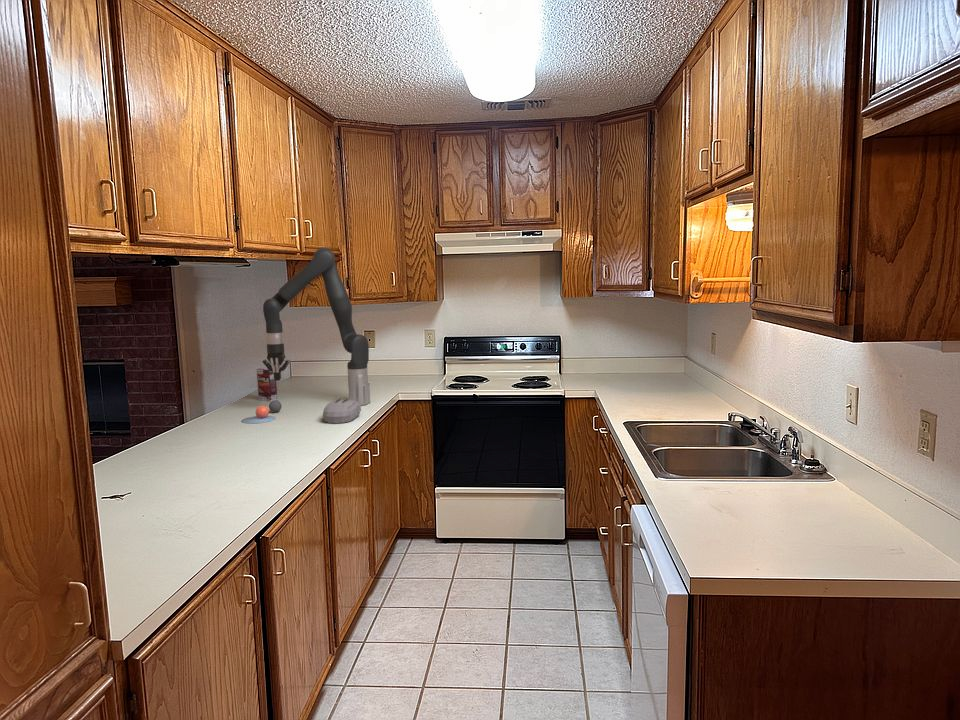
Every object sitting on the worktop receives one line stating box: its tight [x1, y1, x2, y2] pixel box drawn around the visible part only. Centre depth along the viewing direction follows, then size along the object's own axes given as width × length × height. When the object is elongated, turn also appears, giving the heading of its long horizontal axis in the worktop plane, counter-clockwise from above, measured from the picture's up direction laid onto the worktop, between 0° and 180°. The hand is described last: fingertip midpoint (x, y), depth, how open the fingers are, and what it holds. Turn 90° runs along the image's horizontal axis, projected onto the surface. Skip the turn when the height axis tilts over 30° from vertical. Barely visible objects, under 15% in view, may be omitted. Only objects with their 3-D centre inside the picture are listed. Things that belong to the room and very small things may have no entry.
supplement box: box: [256, 367, 278, 403], centre depth 322 cm, size 9×5×16 cm, turn 62°
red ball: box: [255, 405, 270, 418], centre depth 281 cm, size 6×6×6 cm
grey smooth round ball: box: [268, 399, 282, 413], centre depth 293 cm, size 6×6×6 cm
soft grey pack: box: [322, 398, 362, 424], centre depth 276 cm, size 15×8×20 cm
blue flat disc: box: [240, 415, 276, 425], centre depth 279 cm, size 14×14×1 cm
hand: (277, 380), depth 295 cm, fingers closed
